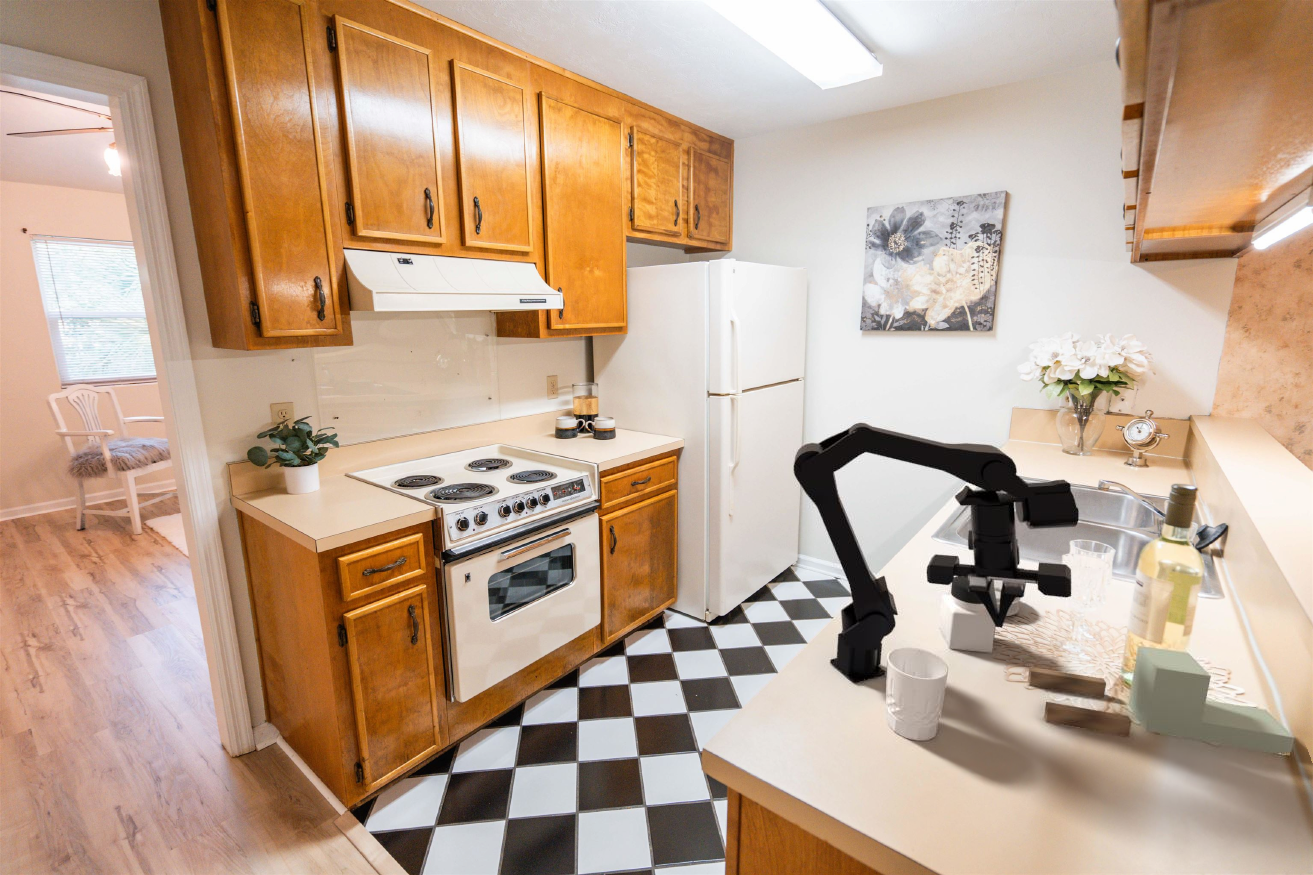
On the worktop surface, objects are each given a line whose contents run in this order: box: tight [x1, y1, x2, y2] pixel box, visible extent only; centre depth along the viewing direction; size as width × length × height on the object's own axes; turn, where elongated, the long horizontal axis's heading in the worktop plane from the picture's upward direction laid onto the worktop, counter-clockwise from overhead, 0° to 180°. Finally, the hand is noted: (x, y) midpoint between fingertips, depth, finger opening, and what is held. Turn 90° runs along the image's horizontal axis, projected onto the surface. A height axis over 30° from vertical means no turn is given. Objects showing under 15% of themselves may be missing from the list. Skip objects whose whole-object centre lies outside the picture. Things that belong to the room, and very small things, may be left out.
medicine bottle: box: [938, 576, 997, 654], centre depth 107 cm, size 7×7×12 cm
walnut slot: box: [1027, 666, 1133, 738], centre depth 89 cm, size 10×10×2 cm
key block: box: [1127, 645, 1296, 755], centre depth 84 cm, size 16×6×10 cm, turn 72°
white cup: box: [885, 647, 949, 742], centre depth 85 cm, size 8×8×10 cm
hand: (999, 626), depth 92 cm, fingers closed
